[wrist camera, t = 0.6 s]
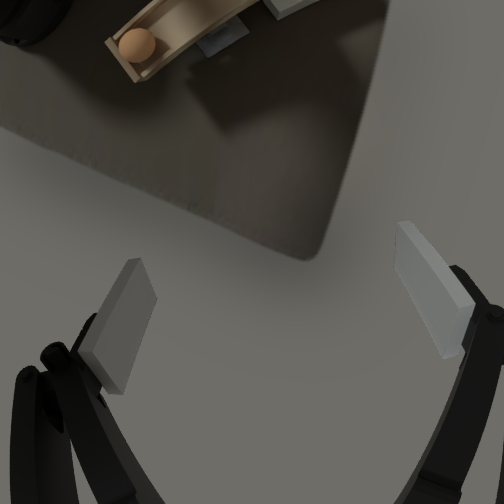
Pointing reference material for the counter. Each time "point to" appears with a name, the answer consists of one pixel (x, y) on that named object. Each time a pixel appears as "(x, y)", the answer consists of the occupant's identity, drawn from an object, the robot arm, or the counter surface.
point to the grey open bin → (286, 6)
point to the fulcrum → (222, 36)
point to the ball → (137, 45)
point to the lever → (173, 29)
